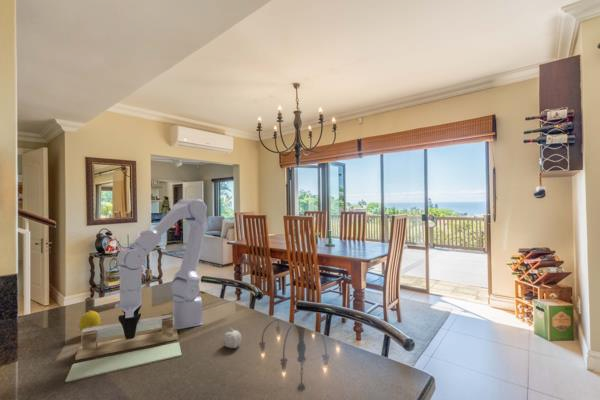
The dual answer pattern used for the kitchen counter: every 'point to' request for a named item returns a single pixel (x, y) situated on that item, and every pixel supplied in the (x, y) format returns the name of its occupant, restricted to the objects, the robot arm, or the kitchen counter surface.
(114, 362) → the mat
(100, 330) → the rail
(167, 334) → the rack
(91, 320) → the lemon
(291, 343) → the kitchen counter surface
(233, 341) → the garlic
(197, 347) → the kitchen counter surface
